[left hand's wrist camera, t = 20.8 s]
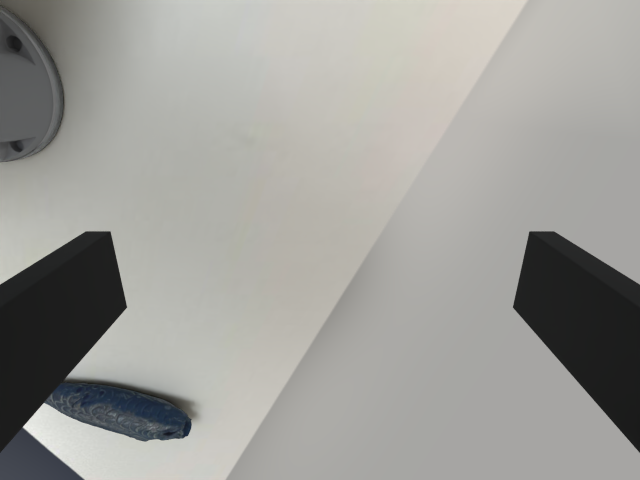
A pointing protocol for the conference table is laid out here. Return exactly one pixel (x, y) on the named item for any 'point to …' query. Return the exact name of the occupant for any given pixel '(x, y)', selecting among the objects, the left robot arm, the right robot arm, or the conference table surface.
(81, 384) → the fish model
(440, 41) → the conference table surface
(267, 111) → the conference table surface
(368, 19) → the conference table surface
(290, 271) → the conference table surface
